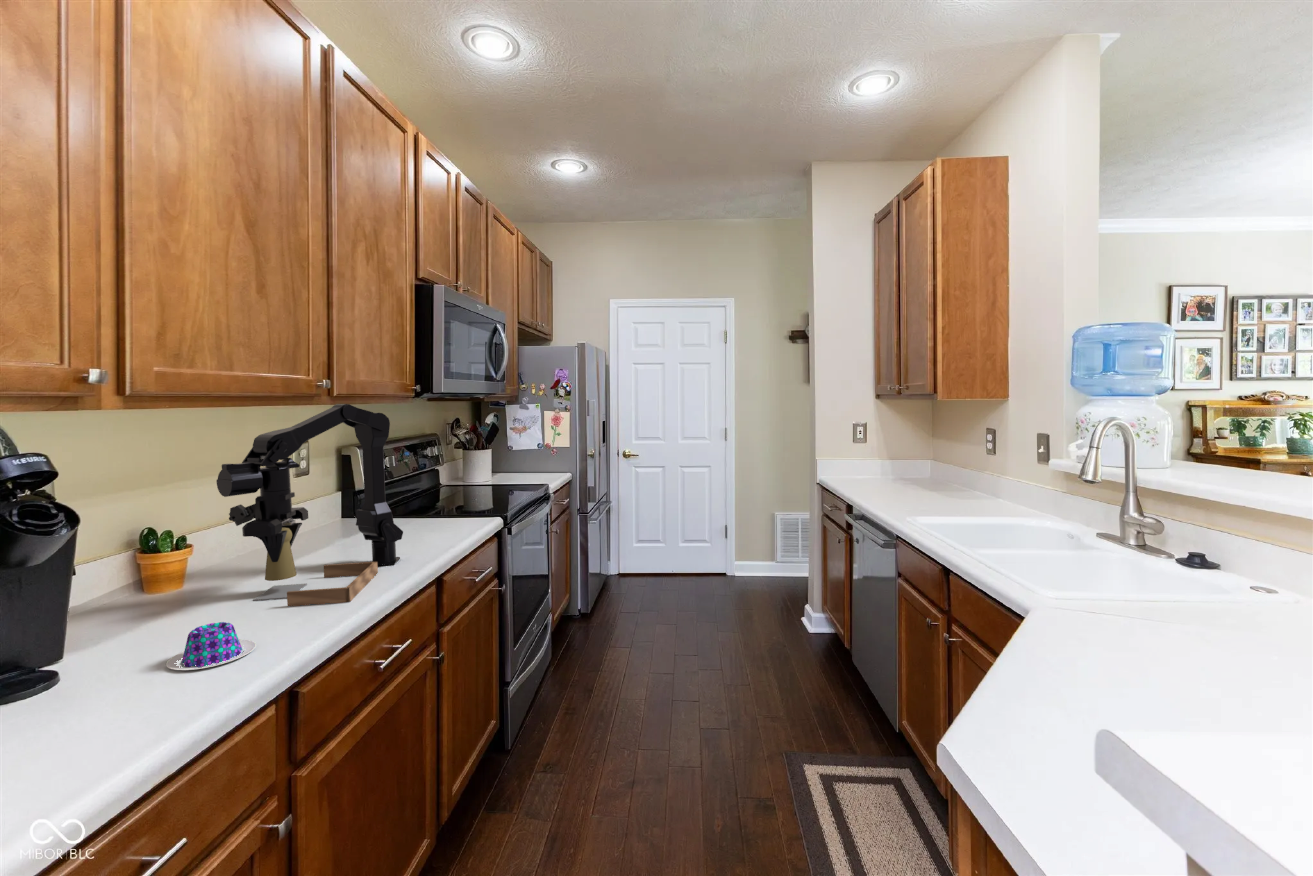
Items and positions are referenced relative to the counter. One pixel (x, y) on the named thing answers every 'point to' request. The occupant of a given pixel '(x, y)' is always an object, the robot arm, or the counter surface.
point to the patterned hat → (211, 646)
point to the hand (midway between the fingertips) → (279, 559)
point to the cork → (281, 562)
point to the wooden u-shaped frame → (336, 595)
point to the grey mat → (279, 591)
